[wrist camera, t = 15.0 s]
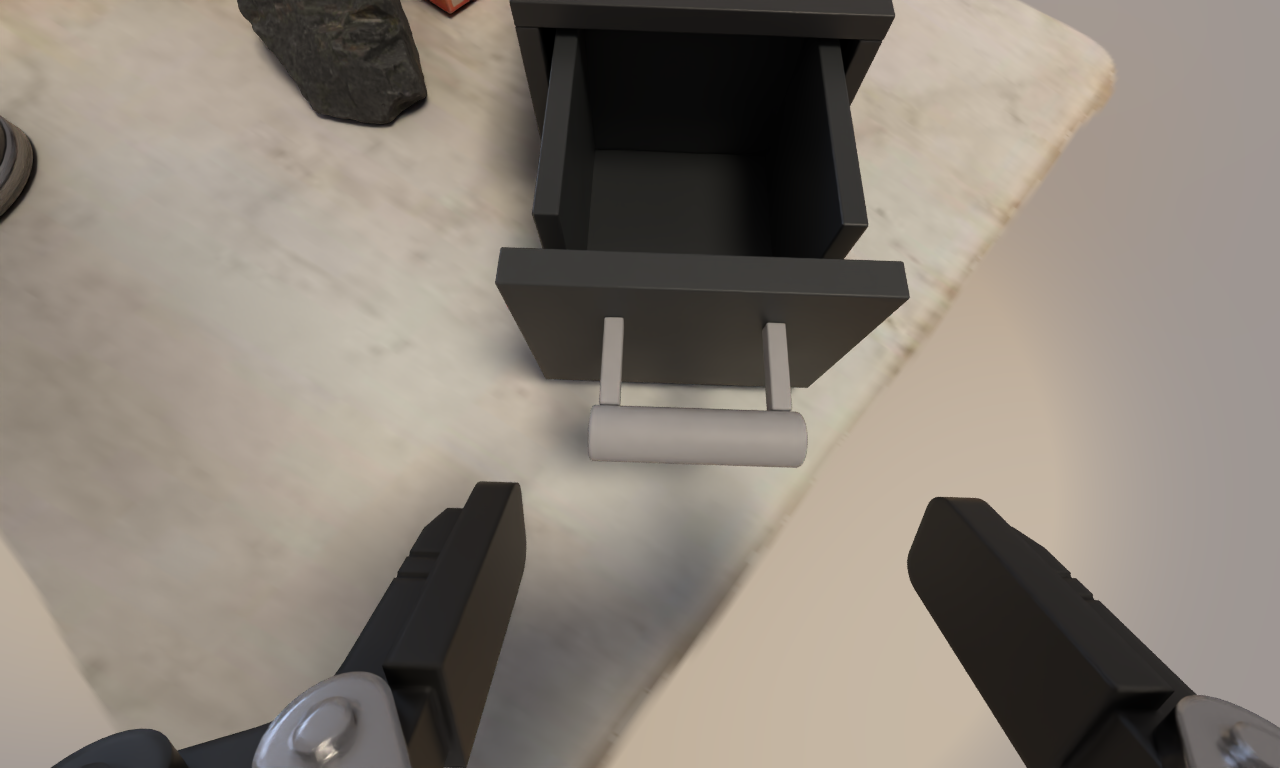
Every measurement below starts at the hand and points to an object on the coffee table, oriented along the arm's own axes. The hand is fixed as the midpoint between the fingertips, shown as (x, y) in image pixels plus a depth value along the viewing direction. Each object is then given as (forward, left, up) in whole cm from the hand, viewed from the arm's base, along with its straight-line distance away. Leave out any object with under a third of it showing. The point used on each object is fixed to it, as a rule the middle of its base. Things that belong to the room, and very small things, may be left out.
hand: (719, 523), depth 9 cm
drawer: (+7, +7, -9) cm, 14 cm away
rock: (+5, +32, -10) cm, 34 cm away
